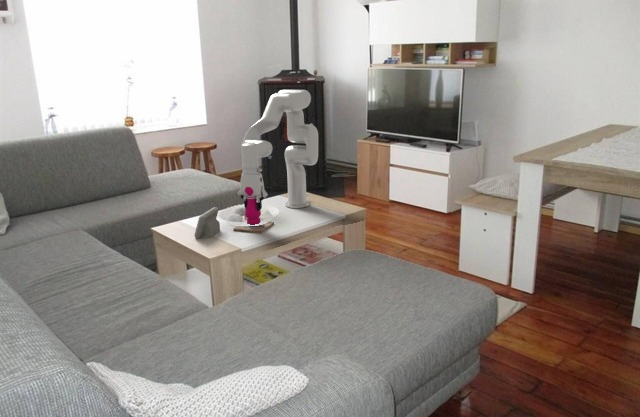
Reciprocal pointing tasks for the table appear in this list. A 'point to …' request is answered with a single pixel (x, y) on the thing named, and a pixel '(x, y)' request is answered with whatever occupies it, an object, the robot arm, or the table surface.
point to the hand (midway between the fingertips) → (253, 209)
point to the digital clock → (208, 224)
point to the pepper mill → (252, 208)
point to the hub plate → (254, 228)
